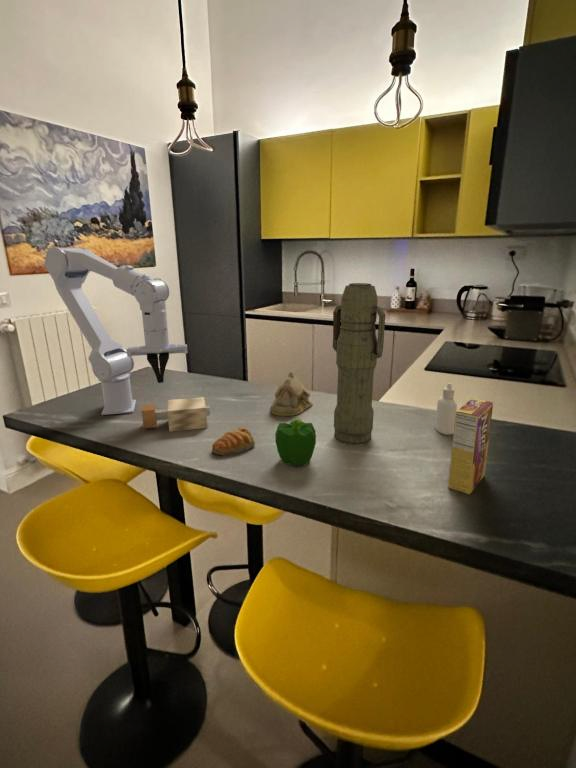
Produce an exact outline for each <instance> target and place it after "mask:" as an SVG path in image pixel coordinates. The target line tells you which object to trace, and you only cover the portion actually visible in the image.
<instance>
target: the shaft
mask: <svg viewBox="0 0 576 768" xmlns="http://www.w3.org/2000/svg"><path fill="white" fill-rule="evenodd" d="M210 409H211V407H210V405H209V404H208V405H207V404H206V416H208V417H209V416H211V411H210ZM141 416H142V417H141V418H142V427H143V429H151V428H152V429H153V428H157V426H158V421H164V420H165V421H166V420H168V408H163V409H157V405H156V403H145V404H142V407H141Z"/></svg>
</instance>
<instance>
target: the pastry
mask: <svg viewBox="0 0 576 768" xmlns="http://www.w3.org/2000/svg"><path fill="white" fill-rule="evenodd" d="M255 445H256V441H255V439H254V436H253V434H252V433H251V431H250V430H249V429H248V428H246V427H243V428H242V427H239V428H238V429H236V430H235V429H234V430H231V431H227V432H225V433H224V434H223V435H222V436H221V437H220V438H219V437H218V439H217V440H215V441H214V443H213V444H212V449H211V451H212V452H213V453H214V454H217V455H218V456H219V455H220V456H227V455H234V454H238V453H240V452H245V451H247V450H249V449H251V448H253V447H254V446H255Z"/></svg>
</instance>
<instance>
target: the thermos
mask: <svg viewBox="0 0 576 768" xmlns="http://www.w3.org/2000/svg"><path fill="white" fill-rule="evenodd" d="M340 299H341V300H340V305H337V306H336V307H335V309H334V310H333V314H332V315H333V316H332V320H333V321H332V324H333V325H332V329H333V330H332V331H333V332H332V333H333V334H332V335H333V336H332V338H333V339H332V349H333V350H334V352H336V357H335V358H336V361H335V364H336V366H337V395H336V405H335V407H334V410H333V412H334V413H333V428H334V435H333V437H334V440H336V441H337V442H338V443H340V444H344V445H346V446H347V445H348V446H362V445H366V444H368V443H370V442H371V441H372V432H373V428H374V416H375V415H374V407H373V389H374V374H375V368H376V366H377V361H378V360H377V359H380V358H382V356H383V352H384V341H385V339H384V338H385V327H386V326H385V325H386V314H385V312H384V310H383V308H382V307H381V308H380V306H378V301H379V300H378V299H379V298H378V295H377V289H376V287H375V285H372V283H368V282H367V283H364V282H363V283H362V282H352V283H349V284H348V285H345V287H344V289H343V292H342V296H341V298H340ZM377 315H378V317H379V318H378V329H376V323H377ZM376 332H377V334H376Z"/></svg>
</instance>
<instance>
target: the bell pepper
mask: <svg viewBox="0 0 576 768" xmlns="http://www.w3.org/2000/svg"><path fill="white" fill-rule="evenodd" d="M314 427H315V426H314V424H313V423H312V422H304V421H303V420H302V419H300V418H299V417H298V418H295V419H294V420H292V421H290V422H289V423H286V422H281V423H280V422H279V423H278V425H277V428H276V430H275V445H276V449H277V453H278V456H279V458H280V460H281V461H282V463H283V464H290V465H291V466H294V467H303V466H306V465H308V464H309V462H310V461H311V459H312V457H313V455H314V451H315V447H316V442H317V441H316V439H317V434H316V432H317V431H316V429H315V428H314Z"/></svg>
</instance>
